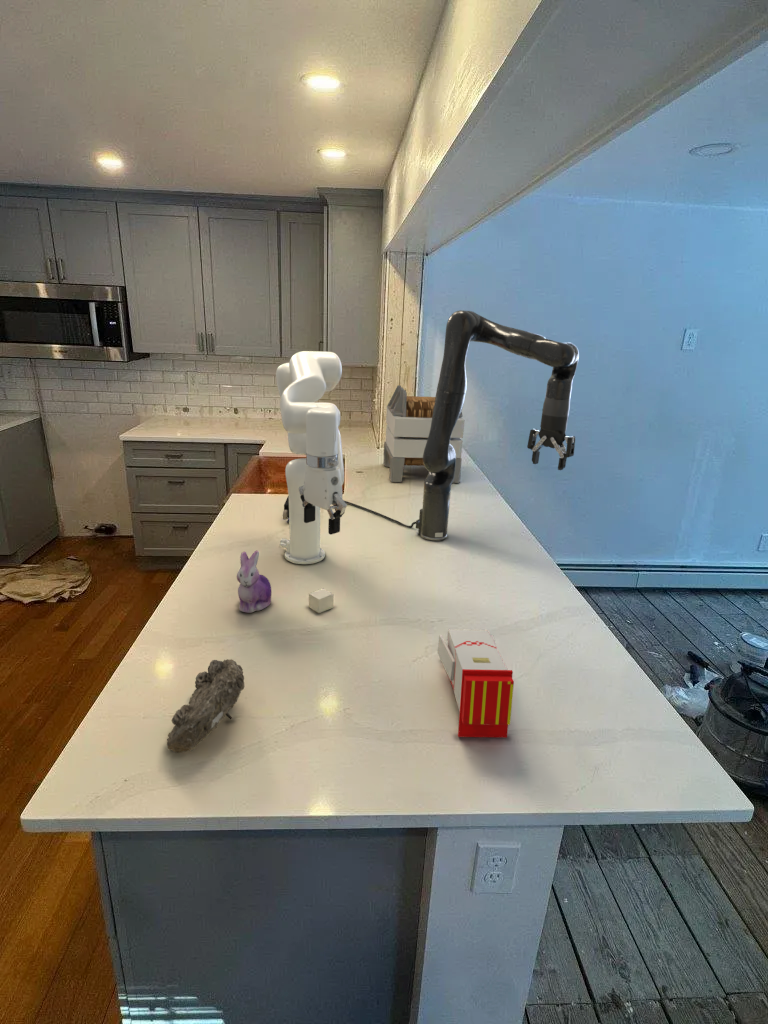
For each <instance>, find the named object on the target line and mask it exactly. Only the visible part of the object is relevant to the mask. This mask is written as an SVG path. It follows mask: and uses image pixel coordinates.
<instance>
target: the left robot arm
mask: <svg viewBox="0 0 768 1024" xmlns="http://www.w3.org/2000/svg"><path fill="white" fill-rule="evenodd" d="M289 359H290V360H289V362H285V363H281V364H280V365H279V366H278V367H277V368H276V371H275V381H276V387H277V391H278V394H279V398H280V400H279V412H280V417H281V423H282V426H283V428H284V430H285V431H286V432H287V442H288V448H289V450H290V452H291V453H292V454H294V455H299V456H305V457H301V458H295V459H292V460H289V461H288V462H287V463H286V465H285V470H284V471H285V472H284V473H285V480H286V487H287V497H288V496H289V523H288V527H289V530H288V531H289V532H288V533H289V539H287V538H282V537H281V538H280V540H279V547H280V548H285V549H286V550H285V552H284V558H285V560H286V561H288V562H290V563H292V564H296V565H312V564H316V563H320V562H321V561H322V560H324V559H325V557H326V551H325V550H324V549H323V548H321V509H322V510H325V511H327V513H328V516H329V518H328V530H327V531H328V532H327V533H328V535H335V534H337V533H340V532H341V518H343V515H344V514H345V511H346V509H347V507H348V504H347V503H345V502H344V501H345V499H343V486H344V483H345V467H344V454H343V444H342V436H341V431H340V429H339V427H340V425H341V410H340V409H339V408H338V406H337V405H336V404H334V403H333V402H317V401H319V400H320V399H322V397H323V396H324V395H325V393H329V392H332V391H333V390H334V389H335V388H336V386H337V385H338V384H339V382H340V381H341V378H342V373H343V365H342V362H341V361H342V360H341V359H340V357H339V356H338V354H336V353H335V352H333V351H321V350H319V351H317V350H316V351H315V350H313V351H312V350H309V351H308V350H303V351H297V352H296V353H294V354H293V355H292V356H291V357H290V358H289ZM333 510H334V511H335V512H334V511H333Z"/></svg>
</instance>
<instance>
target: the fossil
mask: <svg viewBox="0 0 768 1024" xmlns="http://www.w3.org/2000/svg"><path fill="white" fill-rule="evenodd" d="M243 670H244V669H243V667H242V665H240V664H237V662H236V661H235V660H234V659H232V658H231V659H227V658H226V659H224V660H223V661H222V660H217V659H212V660H211V661H210V663H209V665H208V666H207V671H201V672H199V673H198V674H197V675H196V676H195V680H194V684H195V685H194V687H195V689H194V690H193V693H192V694H191V697H190V698H189V700H188V704H184V705H182V706H181V707H180V709H177V710H176V711H175V713H174V715H173V716H172V718H171V723H172V724H173V727H172V730H171V731H170V732H168V734H167V738H166V741H167V742H166V745H167V749H168V750H169V751H173V752H174V753H176V754H178V753H182V752H188V751H189V752H192V751H193V750H195V748H196V747H197V746H199V744H200V743H201V742H203V741H204V740H205V739H206V738H207V737H208V736H209V735H210V734H211V733H212V732H214V730H215V729H217V727H218V726H219V724H220V722H221V721H222V720H223V719H224V718H225V716H226V717H227V719H229V720H233V717H232V715H230V714H229V710H230V709H231V708H234V706H235V704H236V703H237V702H238V699H239V697H240V695H241V693H242V691H243V690H245V689H244V688H245V675H244V671H243Z"/></svg>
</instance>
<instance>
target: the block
mask: <svg viewBox="0 0 768 1024" xmlns="http://www.w3.org/2000/svg"><path fill="white" fill-rule="evenodd" d="M308 608H310V609H311V610H312V611H314V612H316V613H317V614H320V613H324V612H326V611H328V610H330V609H333V608H334V593H333V592H332V591H329V590H328V589H326V588H324V587H323V588H322V587H321V588H320V589H317V590H314V591H312V592H309V593H308Z"/></svg>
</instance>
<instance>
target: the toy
mask: <svg viewBox="0 0 768 1024" xmlns="http://www.w3.org/2000/svg"><path fill="white" fill-rule="evenodd" d="M446 640H447V643H446V641H445V639H444V636H443V635H442V634H439V637H438V646H437V656H438V657H439V659H440V661H441V663H442V666H443V668H444V670H445V672H446V674H447V677H448V679H449V681H450V684H451V687H452V690H453V693H454V697H455V701H456V705H457V708H458V711H459V714H458V715H459V716H458V730H457V731H458V732H457V737H458V738H508V731H509V726H510V725H511V717H512V707H513V697H514V696H513V695H514V684H515V680H514V679H513V673H514V671H513V670H512V669H508V667H507V665H506V662H505V661H504V659H503V658H502V655H501V653H500V651H499V649H498V647H497V643H496V639H495V637H494V635H493V634H491V632H490V631H489V629H467V628H466V629H465V628H463V629H461V628H460V629H459V628H448V630H447V639H446Z"/></svg>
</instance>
